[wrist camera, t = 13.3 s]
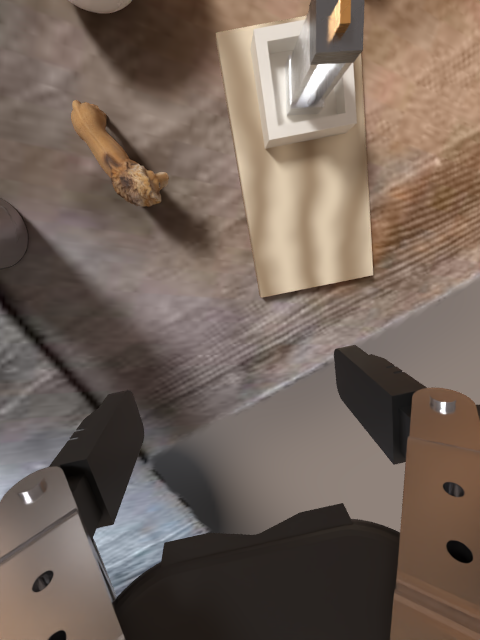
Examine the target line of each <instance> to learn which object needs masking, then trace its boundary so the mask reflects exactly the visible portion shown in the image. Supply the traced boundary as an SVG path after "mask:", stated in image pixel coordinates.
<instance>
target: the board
mask: <svg viewBox="0 0 480 640" xmlns="http://www.w3.org/2000/svg"><path fill="white" fill-rule="evenodd" d="M305 19H306V16H303V17H297V18H292V19H287V20H281V21H276V22H270V23H265V24H260V25H254V26H249V27H243V28H238V29H233V30H227V31H222V32H217V33H216V45H217V51H218V56H219V62H220V68H221V74H222V80H223V85H224V91H225V97H226V103H227V109H228V114H229V120H230V126H231V132H232V138H233V143H234V149H235V155H236V161H237V167H238V172H239V178H240V184H241V190H242V196H243V201H244V207H245V213H246V219H247V225H248V230H249V236H250V242H251V248H252V254H253V259H254V265H255V271H256V277H257V283H258V288H259V294H260V297H261V298H262V297H267V296H272V295H277V294H282V293H287V292H292V291H297V290H302V289H307V288H312V287H317V286H322V285H327V284H332V283H337V282H342V281H347V280H352V279H357V278H362V277H366V276H371V275H373V263H372V244H371V226H370V208H369V190H368V171H367V153H366V135H365V117H364V99H363V80H362V62H361V53H360V55H359V56H358V57H357V59H356V60H355V61H354V63H353V69H354V85H355V101H356V117H357V124H355V125H354V126H353V127H352V128H351V129H350V130H349V131H347V132H346V133H344V134H339V135H334V136H329V137H324V138H319V139H313V140H308V141H303V142H298V143H293V144H287V145H282V146H277V147H272V148H267V149H265V146H264V139H263V132H262V125H261V118H260V111H259V104H258V97H257V91H256V84H255V77H254V70H253V63H252V56H251V42H252V36H253V30H254V29H257V28H262V27H268V26H273V25H278V24H284V23H289V22H295V21H300V20H305Z"/></svg>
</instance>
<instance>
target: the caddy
mask: <svg viewBox="0 0 480 640" xmlns="http://www.w3.org/2000/svg"><path fill="white" fill-rule="evenodd" d="M304 22H305V20H300V21H295V22H289V23H284V24H278V25H273V26H268V27H262V28H257V29H254V30H253V36H252V42H251V56H252V63H253V70H254V77H255V84H256V91H257V97H258V104H259V111H260V118H261V125H262V132H263V139H264V146H265V149H267V148H272V147H277V146H282V145H287V144H293V143H298V142H303V141H308V140H313V139H319V138H324V137H329V136H334V135H339V134H344V133H346V132H347V131H349V130H350V129H351V128H352V127H353V126H354V125H355V124H357V117H356V101H355V85H354V69H353V63H352V64H351V65H350V67H349V68H348V69H347V71H346V72H345V73H344V75H343V76H342V77H341V79H340V80H339V82H338V83H337V84H336V86H335V87H334V88H333V90H332V91H331V92H330V94H329V95H328V96H327V98H326V99H325V101H324V107H323V109H322V110H321V111H320V112H319V114H305V115H289V116H286V84H285V64H286V61H287V59H288V56H289V55H292V53H293V50H294V48H295V45H296V42H297V40H298V37H299V35H300V32H301V29H302V27H303V24H304Z"/></svg>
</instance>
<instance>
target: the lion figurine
mask: <svg viewBox="0 0 480 640" xmlns="http://www.w3.org/2000/svg"><path fill="white" fill-rule="evenodd" d="M72 105H73V110H72V113H71V120H72V123H73V126H74V129H75V131H76V132H77V134H78V135H79V136H80V137H81V138H82V139H83V140H84V141H85V142H86V143H87V145H88V146H89V148H90V149H91V151H92V152H93V154H94V156H95V157H96V159H97V161H98V162H99V164H100V165H101V167H102V168H103V170H104V171H105V172H106V173H107V174H108V175H109V176H110V178H111V181H112V184H113V187H114V189H115V191H116V192H117V194H118V195H120V196H121V197H123V198H124V199H125V200H126V201H128V202H130V203H131V204H135V205H136V206H142V207H144V206H147V207H149V206H152V205H155V204H158V203H160V202H161V195H160V193H159V192H160V190H161V189H162V188H164V187H166V186H167V185H168V179H169V177H168V174H167V173H165V172H160V173H157V174H155V173H154V172H152V171H148V170H146V169H145V168H144V166H140V165H139V164H138V163H136V162H135V161H133V160H130V159H129V157H128V155H127V154H126V152H125V151H124V150H123V148H122V147H121V146H120V145H119V144H118V143H117V142H116V141H115V140H114V139H113V138H112V137H111V136H110V135H109V134H108V133H107V132H106V130H105V127H106V120H107V116H106V114H105V113H104V112H103V111H101V110H100V109H99V108H98V106H96V105H94V104H89V103H82V104H81V103H80V102H79V101H77V100H75V101H73V104H72Z"/></svg>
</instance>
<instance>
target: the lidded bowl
mask: <svg viewBox="0 0 480 640" xmlns="http://www.w3.org/2000/svg"><path fill="white" fill-rule="evenodd" d="M68 1H69V2H71V3H73V4H74V5H76V6H78V7H79V8H82V9H84V10H87V11H91V12H95V13H112V12H116V11H118V10H121V9H123V8H124V7H126V6H127V5H128V4H129V3H130V2H132V1H133V0H68Z"/></svg>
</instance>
